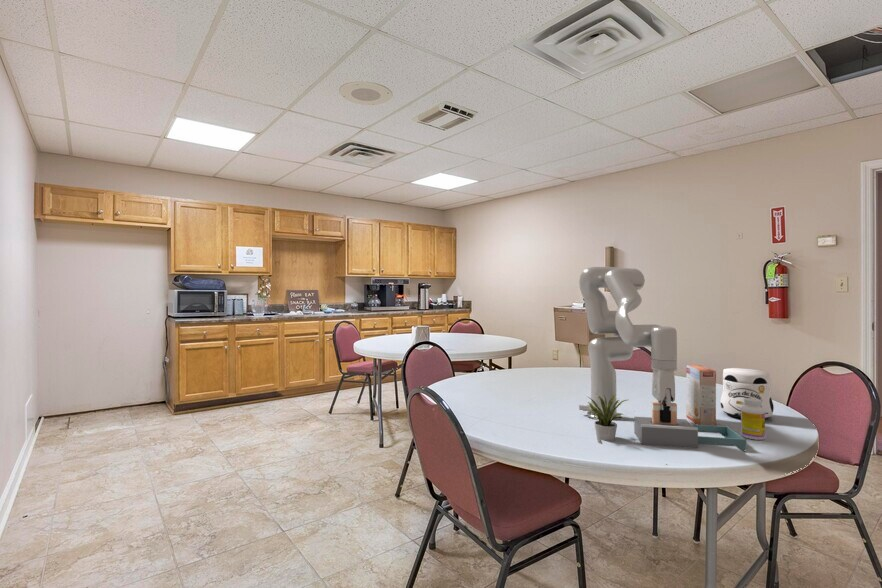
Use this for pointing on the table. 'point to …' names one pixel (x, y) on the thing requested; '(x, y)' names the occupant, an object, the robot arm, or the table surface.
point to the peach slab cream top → (656, 413)
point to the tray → (729, 439)
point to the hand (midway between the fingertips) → (664, 421)
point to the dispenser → (666, 433)
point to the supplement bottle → (753, 419)
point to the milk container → (745, 390)
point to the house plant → (605, 419)
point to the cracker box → (701, 395)
